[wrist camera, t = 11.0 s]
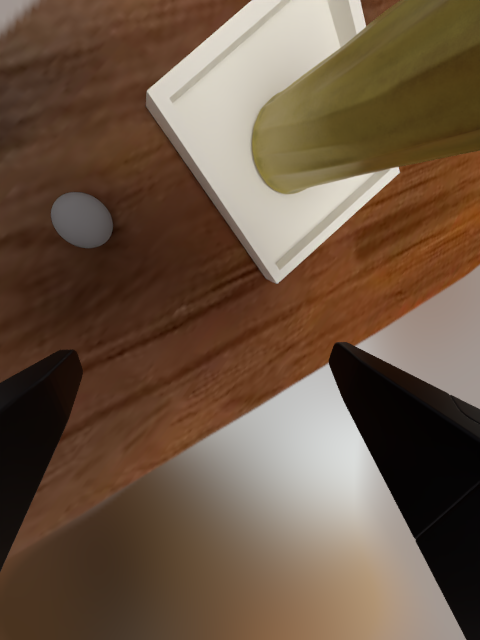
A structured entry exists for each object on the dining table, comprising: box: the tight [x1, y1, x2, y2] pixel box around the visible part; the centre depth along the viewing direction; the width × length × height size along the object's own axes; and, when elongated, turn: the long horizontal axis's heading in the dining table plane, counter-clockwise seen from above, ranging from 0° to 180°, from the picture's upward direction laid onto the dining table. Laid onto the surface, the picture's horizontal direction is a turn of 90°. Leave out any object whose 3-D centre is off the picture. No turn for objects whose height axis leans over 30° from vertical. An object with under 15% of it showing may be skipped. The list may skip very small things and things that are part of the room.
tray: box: [146, 0, 400, 284], centre depth 17 cm, size 14×14×2 cm
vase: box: [252, 0, 480, 194], centre depth 11 cm, size 6×6×14 cm
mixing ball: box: [51, 192, 113, 248], centre depth 14 cm, size 3×3×3 cm
